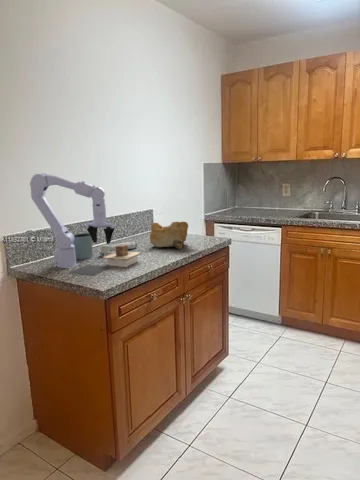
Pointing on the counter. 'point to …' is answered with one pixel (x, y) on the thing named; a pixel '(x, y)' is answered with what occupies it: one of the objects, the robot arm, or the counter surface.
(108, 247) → the toothpaste tube
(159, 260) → the counter surface
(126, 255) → the lid
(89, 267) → the mat
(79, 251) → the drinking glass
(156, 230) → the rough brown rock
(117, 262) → the dish
